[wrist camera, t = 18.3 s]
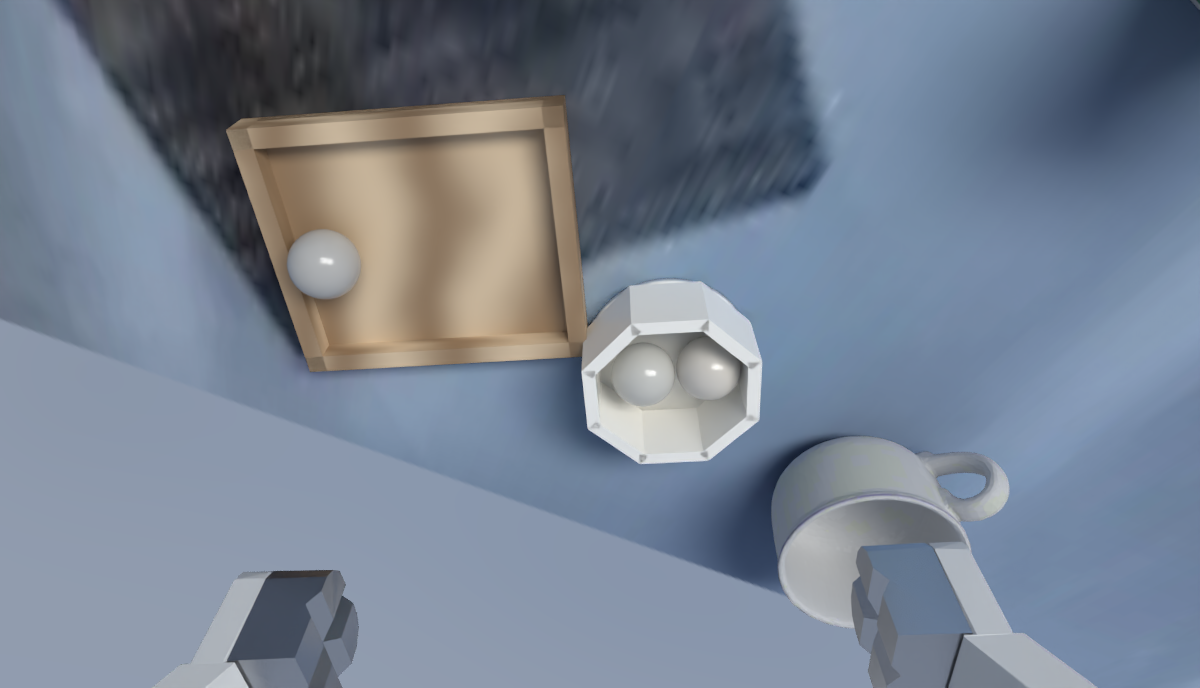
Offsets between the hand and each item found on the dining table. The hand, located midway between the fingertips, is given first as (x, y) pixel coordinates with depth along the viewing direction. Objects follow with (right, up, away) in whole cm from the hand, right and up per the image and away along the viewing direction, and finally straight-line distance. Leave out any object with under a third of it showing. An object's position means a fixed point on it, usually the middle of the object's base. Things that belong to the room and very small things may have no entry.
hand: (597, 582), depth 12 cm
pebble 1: (-14, +9, +28) cm, 33 cm away
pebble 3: (+5, +1, +29) cm, 29 cm away
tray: (-9, +9, +29) cm, 31 cm away
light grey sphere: (+4, +3, +31) cm, 32 cm away
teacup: (+17, -4, +37) cm, 41 cm away
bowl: (+4, +4, +32) cm, 33 cm away
